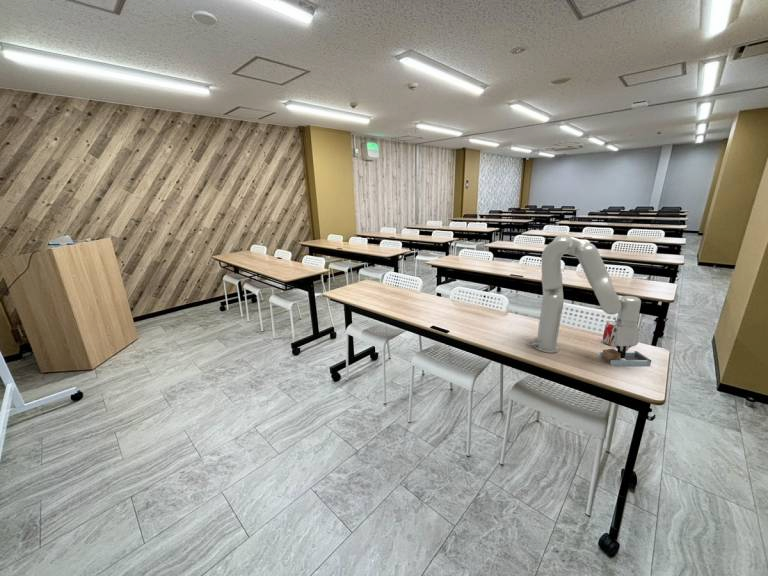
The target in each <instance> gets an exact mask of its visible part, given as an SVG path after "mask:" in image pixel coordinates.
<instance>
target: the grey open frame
mask: <svg viewBox="0 0 768 576" xmlns="http://www.w3.org/2000/svg"><path fill="white" fill-rule="evenodd" d="M598 357H599V358H603V351H600V352H599V355H598ZM651 363H652V359H650V358H649V357H647V356H645V354H644V355H643V354H642V353H641V352H639V351H636V350H634V351H626V355H625V358H623V359H620V360H611V361H610V364H609V366H610V367H651Z"/></svg>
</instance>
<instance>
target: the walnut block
mask: <svg viewBox="0 0 768 576" xmlns="http://www.w3.org/2000/svg"><path fill="white" fill-rule="evenodd" d="M602 352H603V357H602V360H604V361H605V362H606V363H607V364H608V365H610V361H611V360H621V358H620V353H619V352H618V351H617V350H616V348H608V349H607V348H606V349H602Z"/></svg>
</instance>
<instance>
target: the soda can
mask: <svg viewBox="0 0 768 576" xmlns="http://www.w3.org/2000/svg"><path fill="white" fill-rule="evenodd" d="M615 324H616V323H615V321H611V320H610V321H607V323H605V326H604V330H603V335H602V342H603V343H604V344H606V345H608V346H611V343H612V342H611V334H612V331H613V328H614V325H615Z"/></svg>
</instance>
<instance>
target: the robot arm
mask: <svg viewBox="0 0 768 576" xmlns="http://www.w3.org/2000/svg"><path fill="white" fill-rule="evenodd" d="M565 254H568V255H569V256H573V257H576V258H577V259H578V262H579V264H580V266H581V268H582V271H583V272H584V275H585V277H586V279H587V282H588V284H589V286H591V288H592V290H593V292H594V295H595V297H596V299H597V300H598V303H599V306H600V308H601V309H602V311H603V312H604V313H605V314H608V315H616V314H617V319H615V320H614V322H615V323H616V324H615V325H614V328H613V331H612V334H611V342H612V343H611V345H610V346H611V347H612V348H615V349H617V350H616V351H618V352H619V353H620V359H624V358H625V355H626V352H629V349H630V348H633V347H635V346H637V345H638V344H639V339H640V338H639V337H640V329H639V328H640V327H639V325H638V321H639V315H640V310H641V305H642V300H641V299H640V298H639V297H637V296H633V295H619V294H617V292H616V289H615V287H614V285H613V283H612V280H611V276H610V274H609V272H608V270H607V267H606V265H605V263H604V261H603V258H602V256H601V254H600V252H599V250H598V249H597V247H596V245H594V244H593V243H592V242H591V243H590V242H587V241H585V240H582V239H579V238H577V237H573V236H571V235H568V234H558V235H557V236H556V237H554V239H553V240H552V241H551V242H549V243H548V244H547V245H546V246H545V247H544V249H543V250H542V253H541V261H540V262H541V285H542V286H541V287H542V299H541V307H540V315H539V322H538V329H537V336H536V337H535V338H533V339H527V344H531V346H532V347H534V348H535V349H536V350H538V351H541V352H543V353H549V354H550V353H552V354H553V353H555V354H556V353H558V352H559V351H560V346H559V345H558V344H557V343H558V338H559V332H560V326H561V325H560V324H561V320H562V319H561V318H562V313H563V308H564V302H565V300H564V291H563V290H564V289H563V288H564V287H563V286H564V285H563V273H562V263H561V262H562V261H561V259H562V257H563V256H564V255H565Z"/></svg>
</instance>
